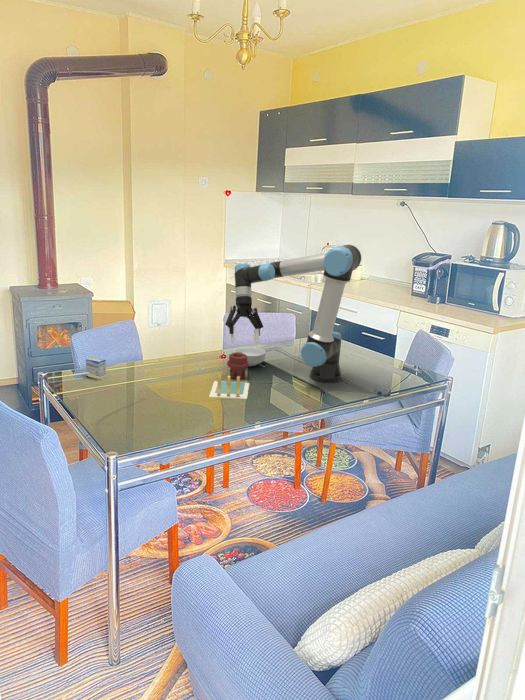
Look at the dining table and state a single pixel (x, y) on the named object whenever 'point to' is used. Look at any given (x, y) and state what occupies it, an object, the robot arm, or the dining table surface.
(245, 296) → the robot arm
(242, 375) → the mechanical component
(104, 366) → the medicine box
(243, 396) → the header board
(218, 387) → the pin
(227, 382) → the pin
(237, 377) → the pin
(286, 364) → the dining table surface
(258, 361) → the cereal bowl
